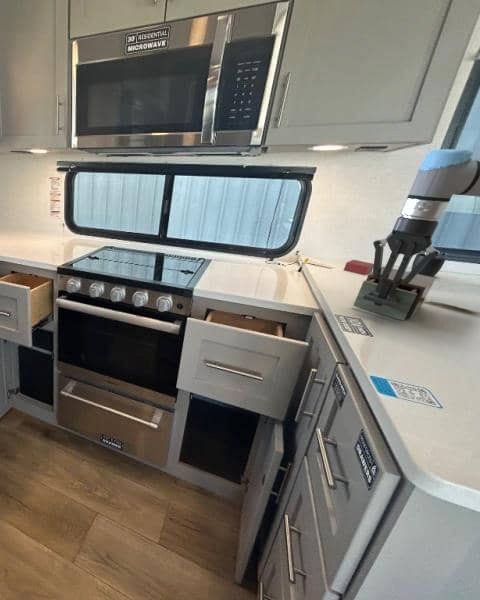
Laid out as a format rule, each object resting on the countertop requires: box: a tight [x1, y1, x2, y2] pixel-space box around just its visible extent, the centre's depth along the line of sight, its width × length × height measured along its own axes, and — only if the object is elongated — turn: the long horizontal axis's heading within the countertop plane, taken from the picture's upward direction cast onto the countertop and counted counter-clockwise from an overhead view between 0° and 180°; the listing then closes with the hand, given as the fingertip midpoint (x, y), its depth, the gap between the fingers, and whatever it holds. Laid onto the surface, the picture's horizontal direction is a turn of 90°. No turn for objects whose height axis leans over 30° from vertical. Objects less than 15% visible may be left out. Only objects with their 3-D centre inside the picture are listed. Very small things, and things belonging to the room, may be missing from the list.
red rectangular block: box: [343, 259, 374, 276], centre depth 130 cm, size 7×9×5 cm
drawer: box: [353, 278, 421, 322], centre depth 95 cm, size 21×11×8 cm, turn 128°
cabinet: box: [365, 266, 437, 320], centre depth 100 cm, size 17×13×10 cm
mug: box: [410, 253, 447, 278], centre depth 131 cm, size 8×12×10 cm
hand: (378, 304), depth 91 cm, fingers closed
